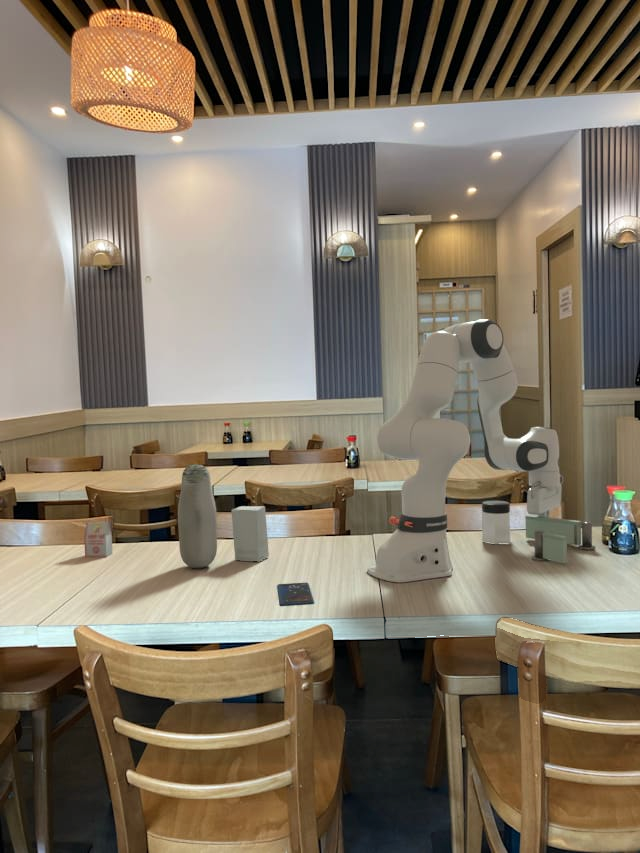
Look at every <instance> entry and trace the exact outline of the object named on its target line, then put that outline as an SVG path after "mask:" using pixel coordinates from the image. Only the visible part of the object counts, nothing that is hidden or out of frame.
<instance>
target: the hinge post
mask: <svg viewBox="0 0 640 853" xmlns="http://www.w3.org/2000/svg"><path fill="white" fill-rule="evenodd" d="M579 548H581V549H580V550H582V549H585V550H584V551H595V550H596V546H595V545H593V523H592V521H581V544H580V545H578V549H579ZM594 549H595V550H594Z"/></svg>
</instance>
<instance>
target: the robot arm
mask: <svg viewBox="0 0 640 853" xmlns="http://www.w3.org/2000/svg"><path fill="white" fill-rule="evenodd" d="M466 363H467V364H468V363H471V366H472V370H473V374H474V377H475V380H476V384H477V388H478V395H477V400H476V402H477V410H478V417H479V421H480V425H481V427H480V428H481V430H482V434H483V435H482V436H483V440H484V441H483V443H484V458H485V460H486V462H487V464H488V465H489V467H491V468H492V469H494V470H499V471H500V470H502V471H504V470H506V471H515V472H528V486H531V487H529V489H528V490H527V496H526V498H527V499H526V512H527V515H533V516H541V517H550V516H551V512H552V511H551V510H552V509H554V508H556V507H560V505H561V501H562V488H563V487H562V484H563V483H564V476H563V475H561V473H560V466H559V458H560V441H559V437H558V433H557V431H556V429H554V428H551V427H547V426H532V427H530V429H529V431H528V432H527V433H526V434H524V435H523V436H521V437H520V438H510V437H507V435H505V434H504V431H503V426H502V420H501V415H500V409H501V407H502V406H503V404H505V403H508V401H510V400H511V399H512V398H513V397H514V395H515V394H516V392H517V390H518V387H519V386H518V385H519V383H518V382H519V381H518V378H517V377H518V376H517V374H516V370H515V368H514V367H515V366H514V365H513V362H512V359H511V357H510V355H509V353H508V351H507V349H506V346H505V345H504V333H503V330H502V328H501V327H500V326H499V324H498V323H496V322H495V320H492V319H485V318H484V319H483V318H481V319H477V320H474V321H467V322H460V323H456V324H453V325H450V326H448V327H443V328H441V329H438V330H437V331H434V332H431V334H429V335H428V336H427V337H426V338H425V341H424V342H423V345H422V348H421V350H420V353H419V355H418V359H417V363H416V367H415V372H414V376H413V379H412V384H411V387H410V390H409V393H408V395H407V397H406V399H405V401H404V402H403V404H402V405H401V407H400V408H399V409H398V411H396V413H395V414H394V415H393V416H392V417H391V418H389V419H388V420H386V421H384V422H383V423H382V424H381V426H380V428H379V429H378V432H377V437H376V440H377V442H376V443H377V445H378V448H379V450H380V452H381V453H382V454H383V455H385V456H387V457H389V458H393V459H397V460H399V461H400V460H401V461H418V467H417V470H416V472H415V473H414V475H411V476H409V477H408V478H407V479H405V480H404V481H403V484H402V485H401V511H402V512H401V514H400V516H399V518H398V517H396V516H390V518H389V520H388V521H389V524H390V525H394V526H396V530H395V531H394V532H393V533H392V534H391V535H389V537H387V539H386V540H385V541H384V542H383V543H382V544H380V546H378V548H377V553H376V559H375V560H376V561H375V564H373V565H369V566H367V570H366V571H367V573H368V574H369V575H371V576H373V577H375V578H377V579H380V580H384V581H387V582H393V583H408V582H415V581H420V580H422V581H423V580H428V579H434V578H435V579H436V578H443V577H448V576H449V577H451V576H452V575H453V574H452V573H453V568H454V567H453V564H452V560H451V556H450V550H449V545H448V544H449V543H448V537H447V529H448V515H447V513H446V487H447V483H448V482H447V481H448V479H449V476H450V473H451V471H452V469H454V467H455V466H456V464H458V462H460V461H461V460H462V459H463V458H464V457H465V456H466V455H467V453H468V451H469V449H470V448H471V447H470V446H471V436H470V432H469V429H468V428H467V426H466V425H465V424H464V423H463V422H461V421H458V420H454V419H449V418H443V417H442V418H440V417H439V418H437V417H436V418H434V417H435V416H436V415H437V414H438V413H439V412H441V411H442V410H444V409H446V408H447V407H449V405H450V404H451V402H452V401H453V398H454V394H455V389H456V383H457V379H458V373H459V368H460V367H459V366H460V364H466ZM550 518H551V517H550Z"/></svg>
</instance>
